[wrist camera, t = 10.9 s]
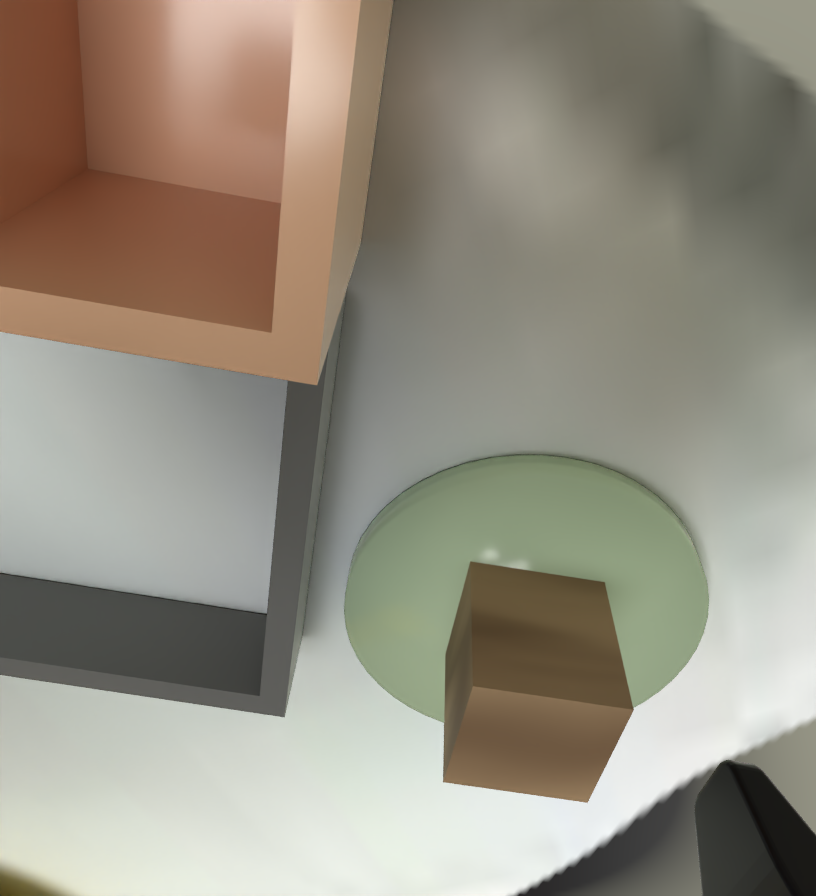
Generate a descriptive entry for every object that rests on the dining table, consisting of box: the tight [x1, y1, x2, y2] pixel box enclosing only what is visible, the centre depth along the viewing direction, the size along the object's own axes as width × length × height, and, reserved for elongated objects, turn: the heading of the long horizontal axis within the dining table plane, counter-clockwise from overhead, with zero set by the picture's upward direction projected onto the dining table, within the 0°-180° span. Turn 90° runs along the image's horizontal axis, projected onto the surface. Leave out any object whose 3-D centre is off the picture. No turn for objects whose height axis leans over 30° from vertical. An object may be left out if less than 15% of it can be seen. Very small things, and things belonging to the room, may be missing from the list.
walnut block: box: [443, 561, 634, 802], centre depth 22 cm, size 4×4×4 cm
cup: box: [0, 0, 394, 385], centre depth 14 cm, size 7×7×7 cm
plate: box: [344, 455, 709, 722], centre depth 24 cm, size 11×11×1 cm
